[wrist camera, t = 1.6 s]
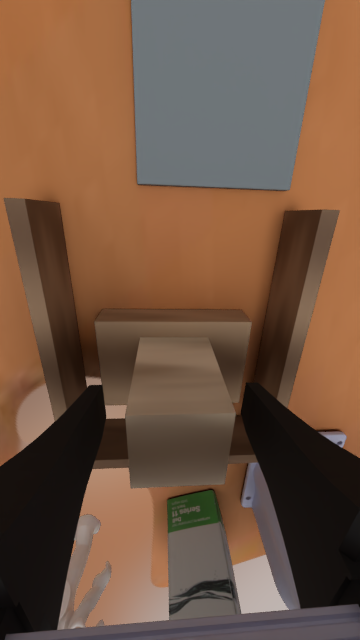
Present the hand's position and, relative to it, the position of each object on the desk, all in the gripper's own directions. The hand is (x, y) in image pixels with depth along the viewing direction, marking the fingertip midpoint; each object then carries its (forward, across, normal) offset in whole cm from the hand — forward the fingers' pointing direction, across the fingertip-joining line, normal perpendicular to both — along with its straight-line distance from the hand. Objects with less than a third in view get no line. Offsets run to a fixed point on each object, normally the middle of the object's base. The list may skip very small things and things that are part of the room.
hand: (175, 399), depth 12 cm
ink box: (+5, -3, +20) cm, 21 cm away
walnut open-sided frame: (+5, 0, -1) cm, 5 cm away
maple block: (+3, 0, 0) cm, 3 cm away
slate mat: (+5, -2, -14) cm, 15 cm away
